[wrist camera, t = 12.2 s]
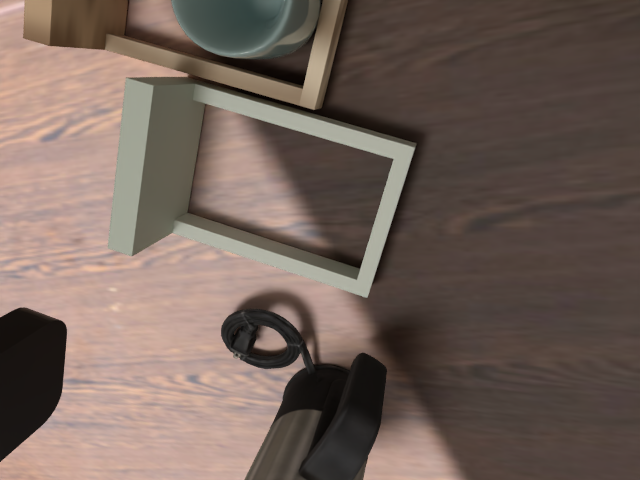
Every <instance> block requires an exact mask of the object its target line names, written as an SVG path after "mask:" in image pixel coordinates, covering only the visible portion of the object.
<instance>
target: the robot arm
mask: <svg viewBox="0 0 640 480" xmlns="http://www.w3.org/2000/svg"><path fill="white" fill-rule="evenodd" d="M66 339H67V328H66V325H65V323H64V322H62V321H61V320H58V319H55V318H52V317H50V316H47V315H44V314H42V313H39V312H36V311H33V310H31V309H28V308H18V309H15V310H13V311H11V312H10V313H8V314H6V315H4V316H2V317H0V462H1V461H2V460H3V459H4V458H5V457H6V456H7V455H9V454H10V453H11V452H12V451H13V450H14V449H15V448H17V447H18V446H19V445H20V444H21V443H22V442H23V441H25V440H26V439H27V438H28V437H29V436H30V435H32V434H33V433H34V432H35V431H36V430H37V429H38V428H40V427H41V426H42V425H43V424H44V423H45V422H46V421H47V420H48V418H49V417H50V416H51V414H52V413H53V411H54V410H55V408H56V406H57V404H58V402H59V400H60V397H61V393H62V387H63V375H64V363H65V351H66Z"/></svg>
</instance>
